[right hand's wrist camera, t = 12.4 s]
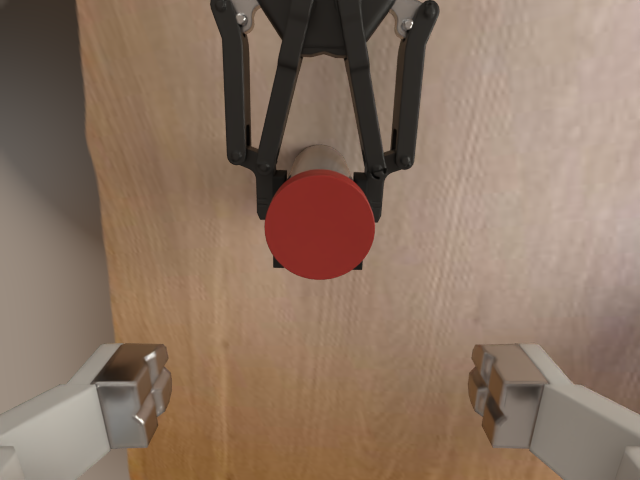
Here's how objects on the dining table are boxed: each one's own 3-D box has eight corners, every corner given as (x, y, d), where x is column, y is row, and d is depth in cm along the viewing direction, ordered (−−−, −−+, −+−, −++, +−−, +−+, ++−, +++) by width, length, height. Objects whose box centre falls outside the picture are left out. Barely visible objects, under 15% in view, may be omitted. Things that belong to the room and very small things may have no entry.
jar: (280, 181, 35) (255, 240, 21) (311, 133, 34) (305, 162, 20) (327, 211, 36) (332, 285, 22) (359, 165, 35) (385, 214, 21)
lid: (249, 234, 22) (244, 245, 21) (303, 148, 21) (302, 152, 19) (333, 284, 24) (334, 297, 22) (391, 205, 22) (397, 214, 20)
